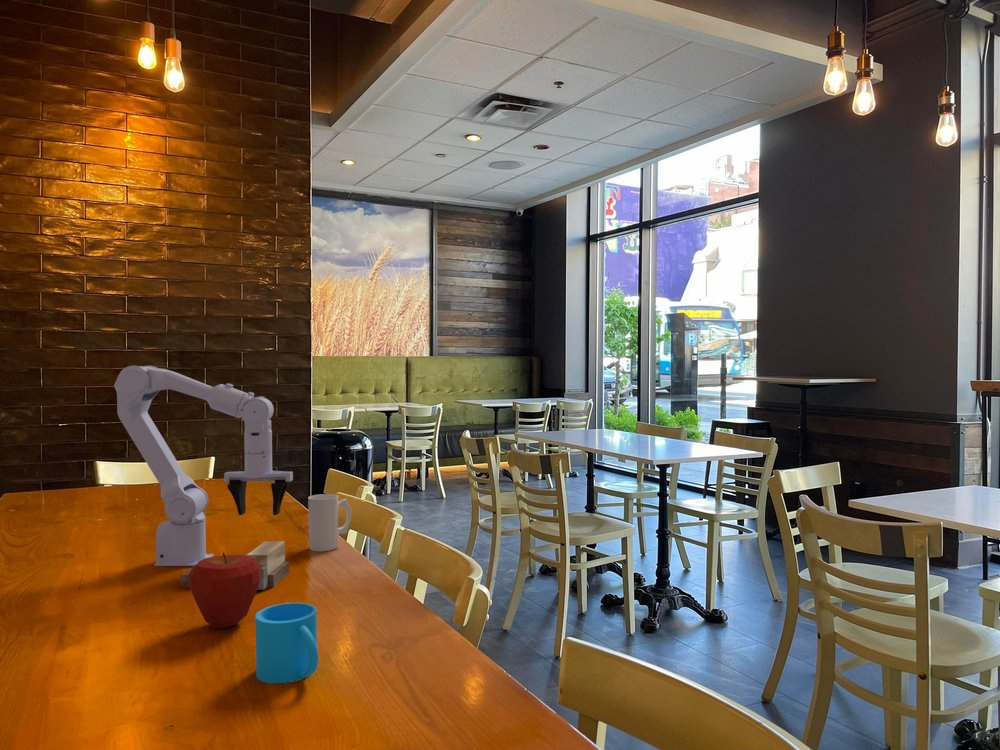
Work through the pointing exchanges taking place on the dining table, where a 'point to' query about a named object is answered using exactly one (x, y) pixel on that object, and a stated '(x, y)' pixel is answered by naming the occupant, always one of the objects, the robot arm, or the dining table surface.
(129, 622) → the dining table surface
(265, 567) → the stepped beige block
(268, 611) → the mug
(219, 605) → the apple
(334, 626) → the dining table surface
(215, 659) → the dining table surface
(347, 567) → the dining table surface
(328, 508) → the mug
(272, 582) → the plank
